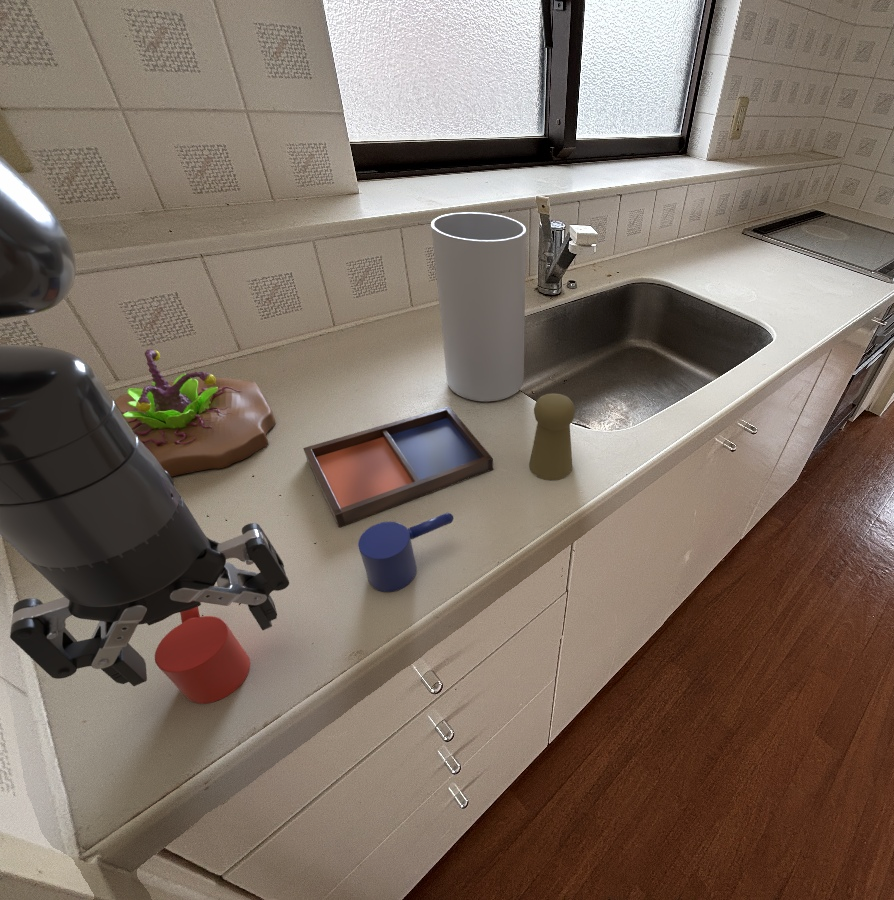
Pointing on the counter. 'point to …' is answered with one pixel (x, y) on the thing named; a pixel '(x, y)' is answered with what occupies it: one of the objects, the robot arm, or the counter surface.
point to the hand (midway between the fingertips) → (207, 645)
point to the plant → (197, 419)
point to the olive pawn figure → (552, 437)
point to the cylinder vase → (481, 302)
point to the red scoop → (202, 658)
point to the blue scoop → (394, 552)
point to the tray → (395, 463)
